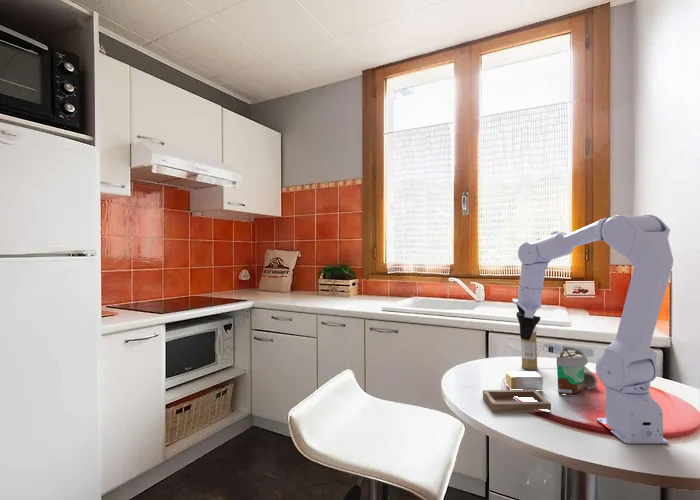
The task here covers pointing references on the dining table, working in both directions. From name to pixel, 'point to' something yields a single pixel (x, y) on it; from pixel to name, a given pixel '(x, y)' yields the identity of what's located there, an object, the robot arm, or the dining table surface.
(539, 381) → the white yellow block
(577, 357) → the food container
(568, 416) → the dining table surface
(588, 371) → the coil
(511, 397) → the wooden tray
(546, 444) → the dining table surface
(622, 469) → the dining table surface
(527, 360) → the sprinkles bottle
